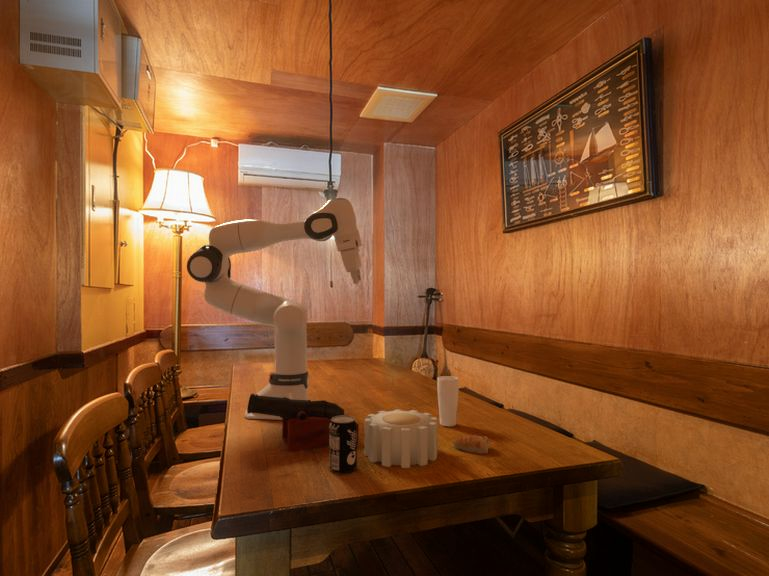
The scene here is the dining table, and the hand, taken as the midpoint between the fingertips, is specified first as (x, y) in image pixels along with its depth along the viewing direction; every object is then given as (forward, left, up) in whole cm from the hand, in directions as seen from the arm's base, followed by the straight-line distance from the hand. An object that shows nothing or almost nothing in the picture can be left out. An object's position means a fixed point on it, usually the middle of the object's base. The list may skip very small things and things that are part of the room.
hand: (357, 282), depth 155 cm
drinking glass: (+29, -16, -46) cm, 57 cm away
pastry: (+31, -39, -46) cm, 68 cm away
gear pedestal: (+11, -40, -46) cm, 62 cm away
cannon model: (-16, -30, -46) cm, 58 cm away
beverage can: (-4, -49, -46) cm, 68 cm away
